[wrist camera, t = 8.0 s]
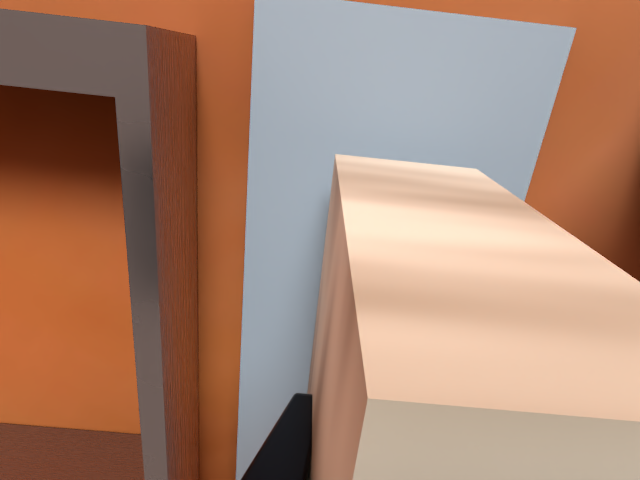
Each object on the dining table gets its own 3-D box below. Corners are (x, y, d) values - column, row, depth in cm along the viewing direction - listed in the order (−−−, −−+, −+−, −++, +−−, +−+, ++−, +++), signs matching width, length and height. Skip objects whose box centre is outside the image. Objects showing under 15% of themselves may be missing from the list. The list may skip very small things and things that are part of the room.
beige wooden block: (395, 494, 13) (469, 933, 6) (296, 487, 13) (268, 924, 6) (476, 168, 9) (870, 440, 3) (335, 153, 9) (367, 398, 2)
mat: (564, 29, 10) (576, 28, 9) (425, 505, 16) (428, 518, 15) (258, -7, 9) (254, -11, 9) (237, 490, 16) (234, 503, 15)
